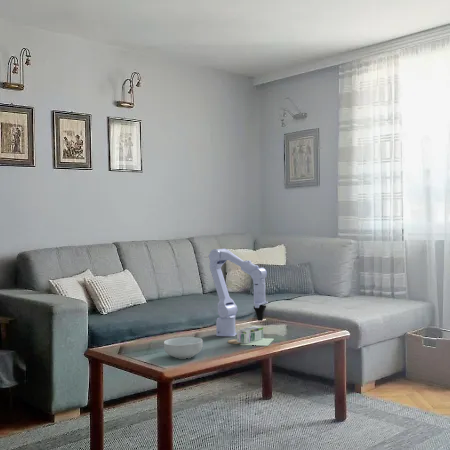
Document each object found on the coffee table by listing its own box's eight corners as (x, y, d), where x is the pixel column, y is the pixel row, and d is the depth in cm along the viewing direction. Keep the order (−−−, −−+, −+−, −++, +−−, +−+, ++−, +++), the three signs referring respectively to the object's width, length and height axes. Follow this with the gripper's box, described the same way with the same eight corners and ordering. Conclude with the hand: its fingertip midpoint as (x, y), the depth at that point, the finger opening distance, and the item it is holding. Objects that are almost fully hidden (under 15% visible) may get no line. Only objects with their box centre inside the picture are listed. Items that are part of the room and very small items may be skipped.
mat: (240, 345, 270) (240, 344, 270) (247, 338, 286) (247, 337, 286) (267, 346, 267) (267, 345, 267) (273, 339, 282) (273, 338, 282)
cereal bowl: (175, 351, 260) (175, 335, 260) (209, 354, 254) (208, 337, 254) (156, 360, 245) (156, 343, 245) (192, 363, 238) (191, 345, 238)
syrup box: (263, 338, 282) (246, 344, 271) (253, 337, 286) (236, 342, 274) (263, 327, 282) (246, 331, 271) (253, 325, 286) (236, 330, 274)
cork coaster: (225, 343, 275) (225, 342, 275) (230, 340, 282) (230, 339, 282) (242, 344, 272) (242, 343, 272) (246, 340, 280) (246, 339, 280)
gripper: (264, 294, 276) (265, 323, 276) (270, 291, 290) (271, 318, 290) (250, 294, 277) (250, 323, 278) (256, 290, 291) (257, 318, 292)
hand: (260, 320), depth 284 cm, fingers closed
